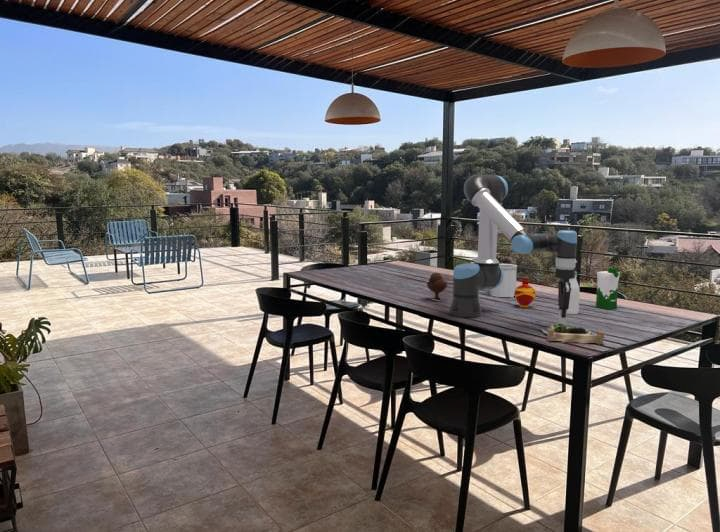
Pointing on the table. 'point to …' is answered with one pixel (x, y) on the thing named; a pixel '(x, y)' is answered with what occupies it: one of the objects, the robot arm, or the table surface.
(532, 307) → the table surface
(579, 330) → the salad plate
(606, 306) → the milk carton
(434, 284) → the ice cream bowl
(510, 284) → the utensil holder
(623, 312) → the table surface
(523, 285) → the potion bottle
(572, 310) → the milk bottle
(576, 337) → the stop rail
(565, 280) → the robot arm
